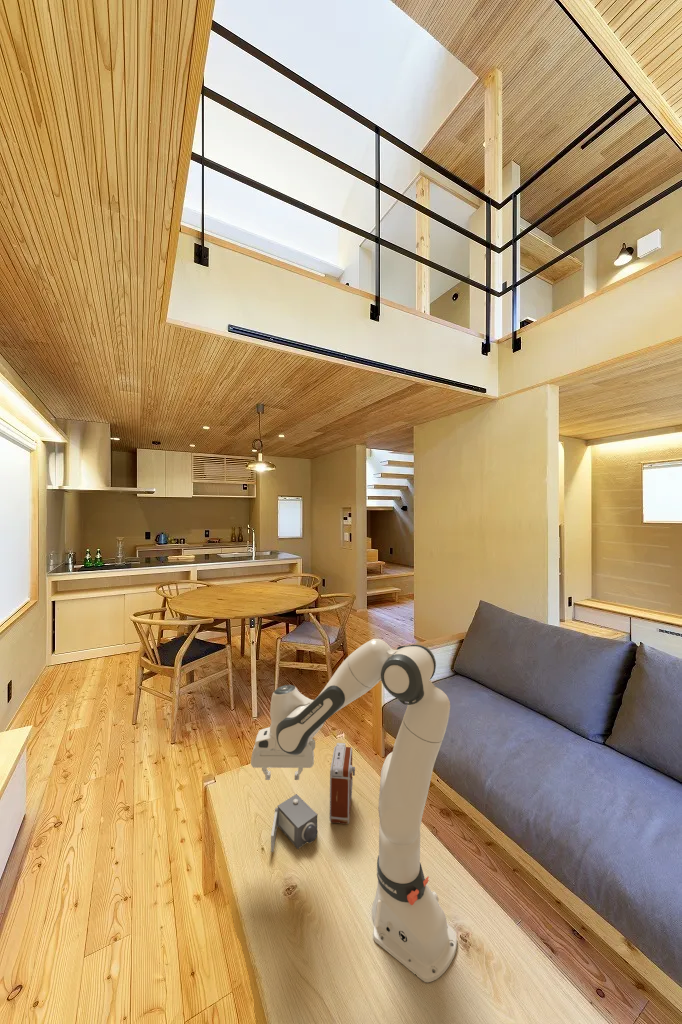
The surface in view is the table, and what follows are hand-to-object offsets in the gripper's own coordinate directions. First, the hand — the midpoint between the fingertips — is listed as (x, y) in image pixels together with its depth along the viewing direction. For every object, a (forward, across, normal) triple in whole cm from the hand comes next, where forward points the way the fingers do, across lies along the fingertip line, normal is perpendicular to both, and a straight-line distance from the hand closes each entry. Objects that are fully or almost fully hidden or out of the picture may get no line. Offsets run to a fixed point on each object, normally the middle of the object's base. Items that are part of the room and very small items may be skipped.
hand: (282, 778), depth 121 cm
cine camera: (+22, -20, -16) cm, 34 cm away
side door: (+21, +2, -2) cm, 22 cm away
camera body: (+22, -6, -5) cm, 23 cm away
